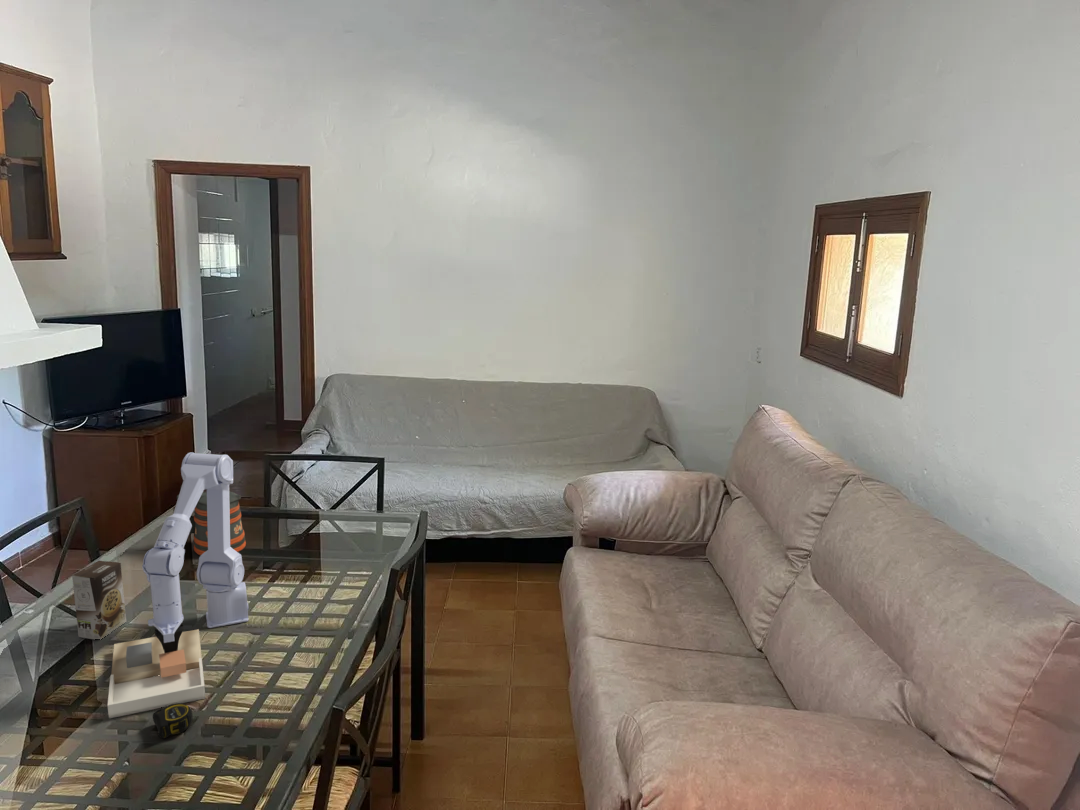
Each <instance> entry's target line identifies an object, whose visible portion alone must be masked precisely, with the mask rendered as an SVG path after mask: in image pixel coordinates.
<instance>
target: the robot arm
mask: <svg viewBox="0 0 1080 810" xmlns="http://www.w3.org/2000/svg"><path fill="white" fill-rule="evenodd" d="M180 473H181V474H180V475H181V478H182V484H181V485H182V487H181V486H180V488H181V491H179V494H178V495H179V497H178V500H177V499H176V500H177V501H176V504H175V508H174V510H173V514H171V515H169V516H167V517H166V518H165V519H164V522H163V524H162V527H161V529H160V531H159V534H158V537H157V539H156V541H155V543H154V545H153V547H152V548H151V549H149V550H147V551H146V553H145V554H144V557H143V560H142V567H141V568H142V571H143V573H144V574H145V576H146V579H147V582H148V583H150V585H149V586H150V593H151V605H152V614H153V615H152V616H153V618H149V619H148V620H147V625H148V627H154V634H155V637H157V638H158V639H159V641H160V642H161V644H162V647H163V650H164V653H168V652H173V651H178V643H179V638H180V636H181V634H182V632H184V623H183V621H184V614H183V607H182V596H181V585H180V582H181V581H180V574H179V573H180V572H181V570H182V568H183V566H184V560H185V553H186V549H185V545H186V542H187V540H188V538H189V536H190V534H189V533H190V530H191V528H192V524H191V522H190V520H189V518H190V516H192V514H194V511H195V507H196V505H197V503H198V501H199V499H200V497H201V495H202V493H203V492H205V490H206V492H207V526H208V550H207V551H206V552H204V553H203V554H202V555H199V557H198V563H197V565H198V566H197V569H196V579H197V581H198V583H199V584H200V585H202V588H203V589H204V590H205V593H206V607H207V611H206V612H205V618H206V626H207V629H213V628H218V627H224V626H229V625H234V624H239V623H246V622H249V602H248V595H247V587H246V582H245V581H243V580H244V575H245V566H244V564H243V558H242V557H243V556H242V554H241V553H240V552H237V551H235V550H234V549H232V548H231V547H230V501H229V491H230V485H232V484H233V483H234V460H233V459H232V458H231V457H230V456H229V455H228V454H213V453H200V452H199V453H198V452H197V453H196V452H193V451H192V452H187V454H185V456H184V457H183V459H182V462H181V467H180Z"/></svg>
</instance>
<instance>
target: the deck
mask: <svg viewBox="0 0 1080 810" xmlns="http://www.w3.org/2000/svg"><path fill="white" fill-rule="evenodd" d="M150 642H152V652H153V654H152V664H147V665H141V666H136V667H131V668H127V662H126V651H127V647H128V646H133V645H139V644H145V643H150ZM183 649H184V654H185V661H186V670H191V669H196V668H200V667H199V658H202V657H203V656H202V648H201V636H200V629H199V628H198V629H194V630H193V629H192V630H191V629H190V630H188V631H183V632H182V634H181V636H180V638H179V643H178V650H183ZM112 652H113V653H112V664H111V674H110V675H113V674H114V682H115V684H119V683H124V682H129V681H134V680H140V679H145V678H150V677H153V676H158V675H161V670H160V659H159V654H163V653H164V650H163V647H162V644H161V642H160V641H159V639H158V638H157V637H156V636H152V637H147V638H140V639H136V640H131V641H124V642H118V643H114V644H113V651H112ZM202 659H203V658H202Z"/></svg>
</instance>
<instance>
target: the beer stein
mask: <svg viewBox="0 0 1080 810" xmlns="http://www.w3.org/2000/svg"><path fill="white" fill-rule="evenodd" d="M181 487H182V484H181V485H180V491H181ZM180 491H179V492H180ZM178 497H179V494H177V495H176V500H178ZM241 499H242V496H241V494H238V493H235V492H234V491H230V490H229V501H230V547H231V548H232V549H234V550H235V551H237V552H238V553H240V552H241V551H243V550H244V549H245V547H246V546H247V545H246V544H247V542H246V541H247V540H246V536H245V534H246V532H245V530H244V528H243V524H242V523H243V522H242V511H241V507H240V502H239V500H241ZM189 520H190V522H191V524H192V528H191V530H190V533H189V536H190V535H192V534H193V541H192V543H193V551H194V552H195V553H196V555H199V556H201V555H202V554H203V553H204V552H206V551H207V550H208V526H207V491H203V493H202V495H201V497H200V499H199V501H198V503H197V505H196V507H195V509H194V511H193V515H191V516H190V518H189Z"/></svg>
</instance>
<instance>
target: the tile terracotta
mask: <svg viewBox="0 0 1080 810" xmlns="http://www.w3.org/2000/svg"><path fill="white" fill-rule="evenodd" d="M159 659H160V670H161V678H163V677H168V676H172V675H177V674H182V673H186V661H185V654H184V649H183V650H178V651H173V652H168V653H163V654H159Z"/></svg>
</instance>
